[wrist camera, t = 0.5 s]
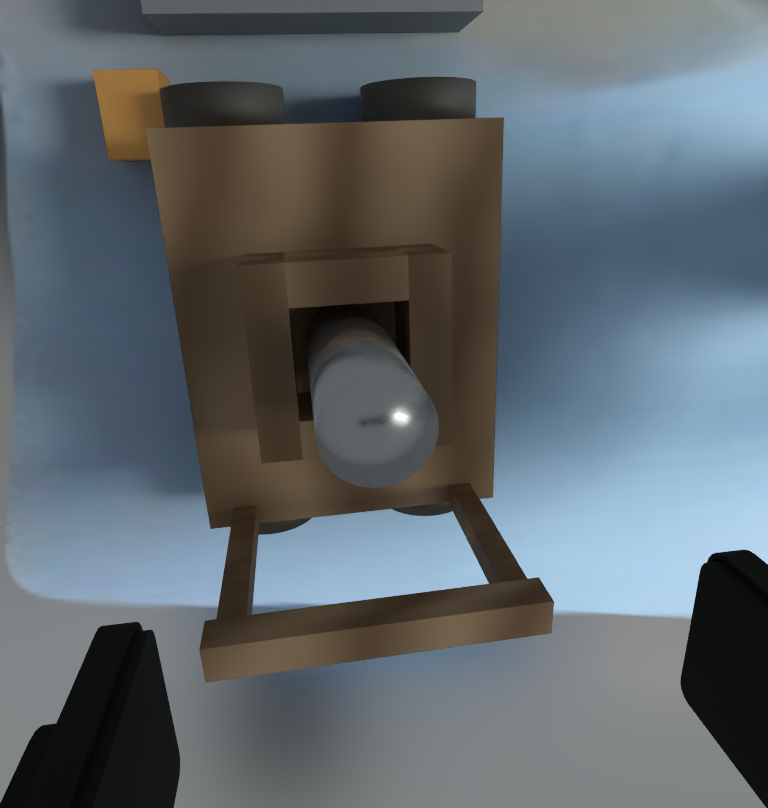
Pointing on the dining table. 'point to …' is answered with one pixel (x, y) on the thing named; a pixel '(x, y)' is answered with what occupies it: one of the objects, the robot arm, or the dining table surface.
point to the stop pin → (366, 400)
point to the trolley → (286, 351)
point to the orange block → (129, 110)
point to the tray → (308, 16)
